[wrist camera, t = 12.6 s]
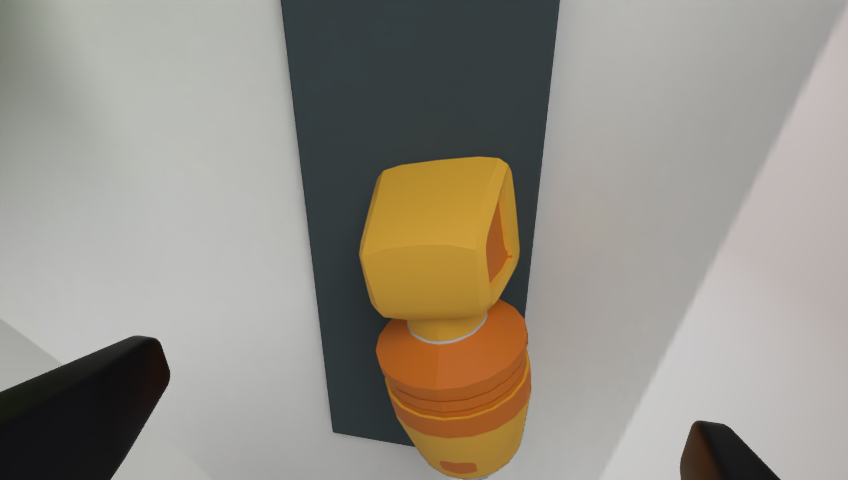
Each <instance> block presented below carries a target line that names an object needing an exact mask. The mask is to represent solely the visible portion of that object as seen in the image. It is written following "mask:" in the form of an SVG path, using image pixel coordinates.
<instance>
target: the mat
mask: <svg viewBox="0 0 848 480" xmlns="http://www.w3.org/2000/svg"><path fill="white" fill-rule="evenodd" d="M559 3H560V0H281V6H282V14H283V22H284V31H285V39H286V47H287V56H288V64H289V72H290V80H291V89H292V97H293V105H294V114H295V122H296V130H297V138H298V147H299V155H300V163H301V172H302V180H303V188H304V196H305V205H306V213H307V221H308V230H309V238H310V246H311V255H312V263H313V271H314V279H315V288H316V296H317V304H318V313H319V321H320V329H321V337H322V346H323V354H324V362H325V371H326V379H327V387H328V395H329V404H330V412H331V420H332V429H333V432H335V433H340V434H346V435H351V436H357V437H363V438H368V439H374V440H379V441H385V442H391V443H396V444H402V445H407V446H413V447H416V446H415V445H414V443H413V442H412V440H411V439H410V437H409V435H408V434H407V432H406V431H405V429H404V428H403V426H402V425H401V423H400V422H399V420H398V418H397V416H396V413H395V410H394V408H393V405H392V402H391V399H390V396H389V393H388V389H387V386H386V382H385V375H384V374H383V372H382V370H381V367H380V364H379V361H378V357H377V353H376V347H377V343H378V338H379V335H380V334H381V332H382V331H383V329H384V328H385V327H386V325H387V324H388V322H389V321H391V320H392V319H393V318H387V317H383V316H382V315H381V314H380V313H379V312H378V311H377V310H376V309H375V308H374V306H373V305H372V303H371V300H370V297H369V293H368V290H367V286H366V282H365V278H364V273H363V269H362V265H361V261H360V256H359V252H360V245H361V240H362V236H363V232H364V228H365V223H366V219H367V215H368V212H369V208H370V204H371V200H372V196H373V192H374V188H375V185H376V182H377V179H378V177H379V176H380V174H381V173H382V172H383V171H384V170H387V169H390V168H393V167H396V166H399V165H405V164H412V163H420V162H427V161H435V160H444V159H456V158H467V157H478V156H479V157H492V158H499V159H501V160H502V161H504V162H506V163H507V164H508V165H509V167H510V170H511V172H512V179H513V186H514V194H515V204H516V213H517V224H518V235H519V247H520V253H519V259H518V262H517V265H516V267H515V269H514V271H513V273H512V275H511V277H510V279H509V281H508V283H507V284H506V286H505V288H504V290H503V291H502V293H501V295H500V297H499V298H498V299H501V300H503V301H504V302H506V303H508V304H510V305H511V306H513V307H515V308H516V310H517V311H518V312H519V313H520V315H521V316H522V317H523V318H524V319H525V310H526V301H527V292H528V283H529V274H530V265H531V256H532V247H533V238H534V229H535V220H536V211H537V202H538V192H539V183H540V174H541V165H542V156H543V147H544V138H545V129H546V120H547V111H548V102H549V93H550V84H551V75H552V66H553V57H554V48H555V39H556V30H557V21H558V12H559Z"/></svg>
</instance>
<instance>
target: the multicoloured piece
mask: <svg viewBox="0 0 848 480" xmlns="http://www.w3.org/2000/svg"><path fill="white" fill-rule="evenodd" d="M519 253H520V247H519V235H518V224H517V213H516V204H515V194H514V186H513V179H512V172H511V170H510V167H509V165H508V164H507V163H506V162H504V161H502V160H501V159H499V158H492V157H479V156H478V157H467V158H456V159H444V160H435V161H427V162H420V163H412V164H405V165H399V166H396V167H393V168H390V169H387V170H384V171H383V172H382V173H381V174H380V176H379V177H378V179H377V182H376V185H375V188H374V192H373V196H372V200H371V204H370V208H369V212H368V215H367V219H366V223H365V228H364V232H363V236H362V240H361V245H360V252H359V256H360V261H361V265H362V269H363V273H364V278H365V282H366V286H367V290H368V293H369V297H370V300H371V303H372V305H373V306H374V308H375V309H376V310H377V311H378V312H379V313H380V314H381V315H382V316H383V317H387V318H393V319H392V320H391V321H389V322H388V324H387V325H386V327H385V328H384V329H383V331H382V332H381V334H380V335H379V338H378V343H377V347H376V353H377V357H378V361H379V364H380V367H381V370H382V372H383V374H384V375H385V382H386V386H387V389H388V393H389V396H390V399H391V402H392V405H393V408H394V410H395V413H396V416H397V418H398V420H399V422H400V423H401V425H402V426H403V428H404V429H405V431H406V432H407V434H408V435H409V437H410V439H411V440H412V442H413V443H414V445H415V446H416V448H417V449H418V451H419V453H420V454H421V455H422V456H423V457H424V459H425V460H426V461H427V462H428V463H429V465H431V466H432V467H433V468H434V469H436V470H438V471H439V472H441V473H443V474H445V475H447V476H451V477H455V478H460V479H464V480H482V479H485V478H487V477H489V476H490V475H491V474H493V473H494V472H496V471H498V470H499V469H500V468H502V467H503V466H505V465H506V464H507V463H509V461H510V460H511V458H512V457H513V456H514V454H515V453H516V451H517V450H518V448H519V446H520V443H521V439H522V435H523V431H524V425H525V420H526V415H527V409H528V404H529V399H530V393H531V374H530V362H529V357H528V352H527V349H526V348H527V344H528V334H527V329H526V324H525V319H524V318H523V317H522V316H521V315H520V313H519V312H518V311H517V310H516V308H515V307H513V306H511V305H510V304H508V303H506V302H504V301H503V300H501V299H498V298H499V297H500V295H501V293H502V291H503V290H504V288H505V286H506V284H507V283H508V281H509V279H510V277H511V275H512V273H513V271H514V269H515V267H516V265H517V262H518V259H519Z"/></svg>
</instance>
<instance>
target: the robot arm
mask: <svg viewBox="0 0 848 480" xmlns="http://www.w3.org/2000/svg"><path fill="white" fill-rule="evenodd" d="M169 380H170V370H169V367H168V364H167V361H166V358H165V355H164V352H163V349H162V346H161V343H160V342H159V341H158V340H157V339H155V338H152V337H145V336H132V337H129V338H127V339H124V340H122V341H120V342H117V343H115V344H113V345H110V346H108V347H106V348H103V349H101V350H98V351H96V352H94V353H91V354H89V355H87V356H84V357H82V358H80V359H77V360H75V361H73V362H70V363H68V364H65V365H63V366H61V367H58V368H56V369H54V370H51V371H49V372H47V373H44V374H42V375H40V376H37V377H35V378H32V379H30V380H28V381H25V382H23V383H21V384H18V385H16V386H14V387H11V388H9V389H6V390H4V391H2V392H0V480H110V479H111V478H112V477H113V475H114V474H115V472H116V471H117V469H118V468H119V466H120V465H121V463H122V462H123V460H124V459H125V457H126V455H127V454H128V452H129V451H130V449H131V447H132V446H133V444H134V442H135V440H136V439H137V437H138V435H139V434H140V432H141V430H142V428H143V427H144V425H145V423H146V422H147V420H148V418H149V417H150V415H151V413H152V411H153V410H154V408H155V406H156V405H157V403H158V401H159V399H160V398H161V396H162V394H163V393H164V391H165V389H166V388H167V386H168V383H169ZM680 474H681V480H780V479H779V478H778V477H777V476H776V475H775V473H774V472H773V471H771V469H770V468H769V467H768V466H767V465H766V464H765V463H764V462H763V461H762V460H761V459H760V458H759V457H758V456H757V455H756V454H755V453H754V452H753V451H752V450H751V449H750V448H749V447H748V446H747V445H746V444H745V443H744V442H743V441H742V439H740V437H739V436H738V435H737V434H736V433H735V432H734V431H733V430H732V429H731V428H729V427H728V426H726V425H724V424H720V423H714V422H707V421H696V422H694V424H693V425H692V427H691V430H690V433H689V435H688V439H687V442H686V445H685V448H684V451H683V454H682V457H681V462H680Z"/></svg>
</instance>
